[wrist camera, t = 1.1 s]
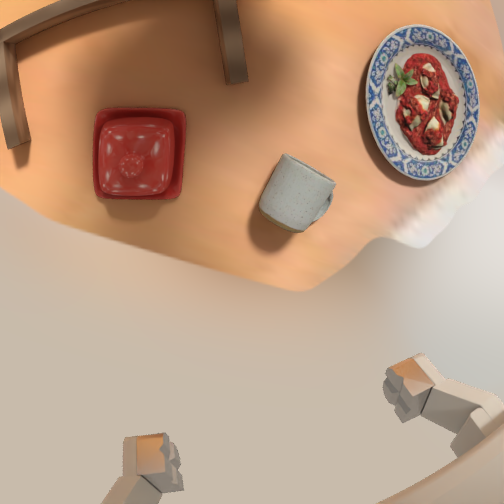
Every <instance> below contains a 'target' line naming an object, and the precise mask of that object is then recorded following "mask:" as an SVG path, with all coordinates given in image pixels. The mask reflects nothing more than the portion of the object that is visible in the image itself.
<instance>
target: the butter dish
mask: <svg viewBox="0 0 504 504" xmlns="http://www.w3.org/2000/svg"><path fill="white" fill-rule="evenodd" d="M185 137H186V117H185V114H184V113H183V112H182V111H181V110H177V109H167V108H107V109H103V110H100V111H99V112H98V113H97V115H96V118H95V124H94V135H93V182H94V190H95V193H96V195H97V196H98V197H101V198H107V199H110V198H111V199H146V200H147V199H149V200H150V199H151V200H157V199H158V200H161V199H172V198H176V197H178V196H179V195H180V193H181V187H182V178H183V164H184V151H185Z"/></svg>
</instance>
